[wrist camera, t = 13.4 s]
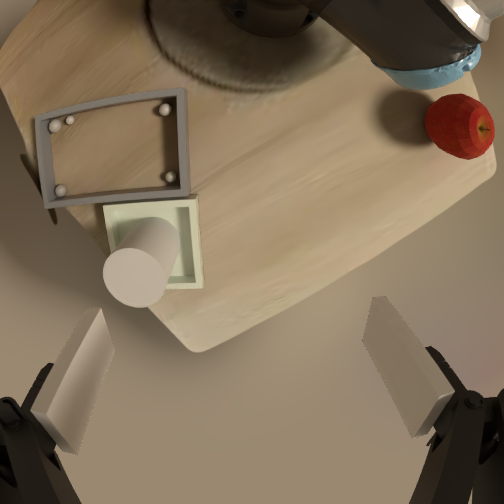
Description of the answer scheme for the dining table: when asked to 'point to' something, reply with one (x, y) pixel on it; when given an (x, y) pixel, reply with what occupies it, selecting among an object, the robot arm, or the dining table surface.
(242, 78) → the dining table surface
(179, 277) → the sage tray
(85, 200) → the gravel bin
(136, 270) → the cup
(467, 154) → the apple
